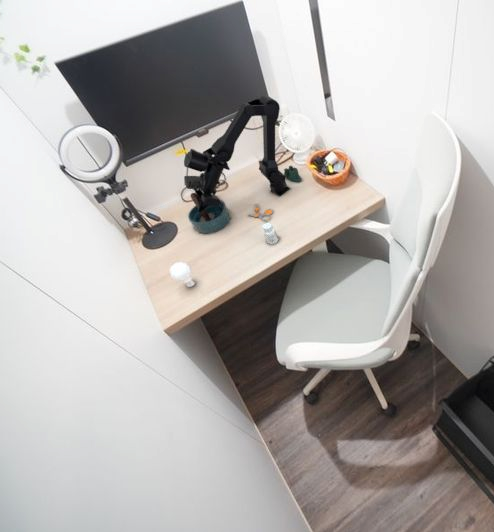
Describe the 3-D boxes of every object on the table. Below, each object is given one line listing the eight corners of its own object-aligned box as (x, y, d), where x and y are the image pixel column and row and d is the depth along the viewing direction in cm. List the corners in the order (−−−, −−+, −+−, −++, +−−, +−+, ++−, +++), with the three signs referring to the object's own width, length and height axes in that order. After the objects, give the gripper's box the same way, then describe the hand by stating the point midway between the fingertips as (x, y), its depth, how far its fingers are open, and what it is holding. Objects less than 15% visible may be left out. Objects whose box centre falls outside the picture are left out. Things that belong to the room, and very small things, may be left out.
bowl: (217, 205, 143) (211, 195, 138) (238, 218, 136) (232, 207, 131) (188, 225, 136) (181, 214, 131) (208, 239, 129) (201, 228, 124)
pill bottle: (280, 238, 125) (275, 223, 119) (273, 245, 122) (267, 231, 116) (272, 235, 126) (266, 220, 120) (265, 242, 124) (258, 227, 118)
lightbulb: (185, 279, 116) (169, 259, 107) (202, 276, 116) (187, 256, 107) (180, 293, 112) (163, 273, 103) (198, 291, 111) (182, 271, 103)
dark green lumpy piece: (304, 179, 149) (301, 170, 145) (297, 184, 147) (294, 174, 144) (289, 172, 155) (286, 162, 151) (282, 176, 153) (279, 167, 149)
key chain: (277, 213, 135) (276, 211, 134) (264, 223, 131) (264, 221, 131) (256, 204, 140) (256, 202, 140) (244, 213, 137) (243, 212, 136)
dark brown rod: (211, 215, 137) (194, 186, 126) (219, 220, 134) (203, 191, 123) (199, 223, 135) (181, 195, 123) (207, 229, 132) (189, 200, 120)
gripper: (183, 158, 123) (170, 193, 128) (197, 179, 112) (183, 216, 117) (212, 168, 131) (199, 201, 136) (227, 188, 120) (212, 223, 125)
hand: (198, 209), depth 128 cm, fingers closed on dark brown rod, 2 cm apart
